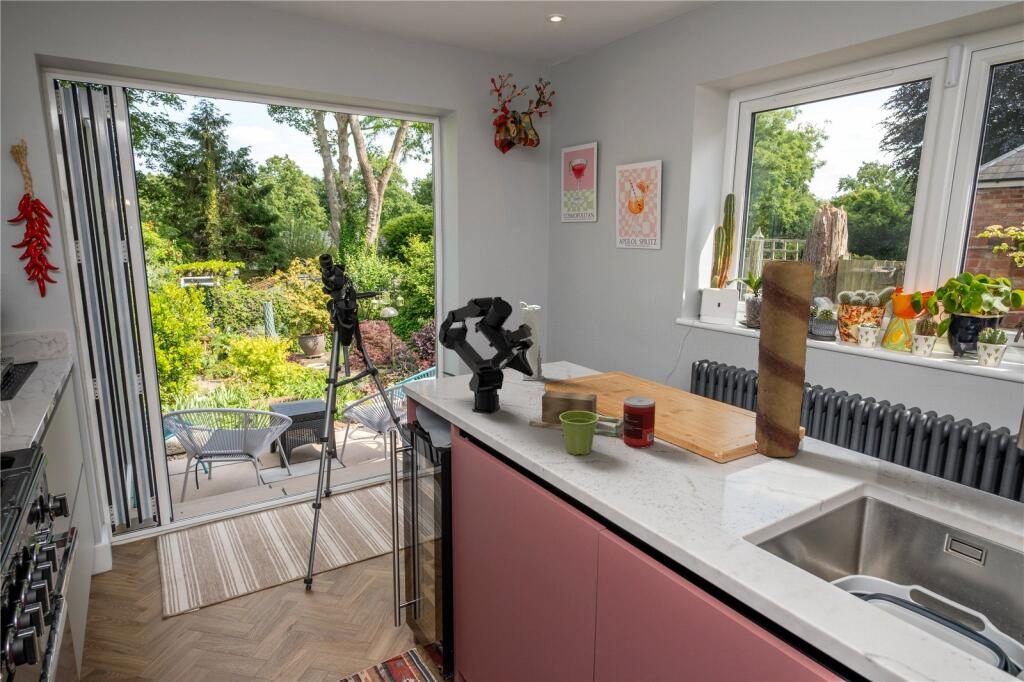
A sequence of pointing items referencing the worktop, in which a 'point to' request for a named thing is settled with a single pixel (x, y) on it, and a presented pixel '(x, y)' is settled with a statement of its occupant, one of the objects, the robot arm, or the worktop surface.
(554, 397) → the walnut block
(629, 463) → the worktop surface
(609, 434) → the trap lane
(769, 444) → the wafer roll
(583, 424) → the plant pot
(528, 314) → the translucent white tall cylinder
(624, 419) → the canned food
